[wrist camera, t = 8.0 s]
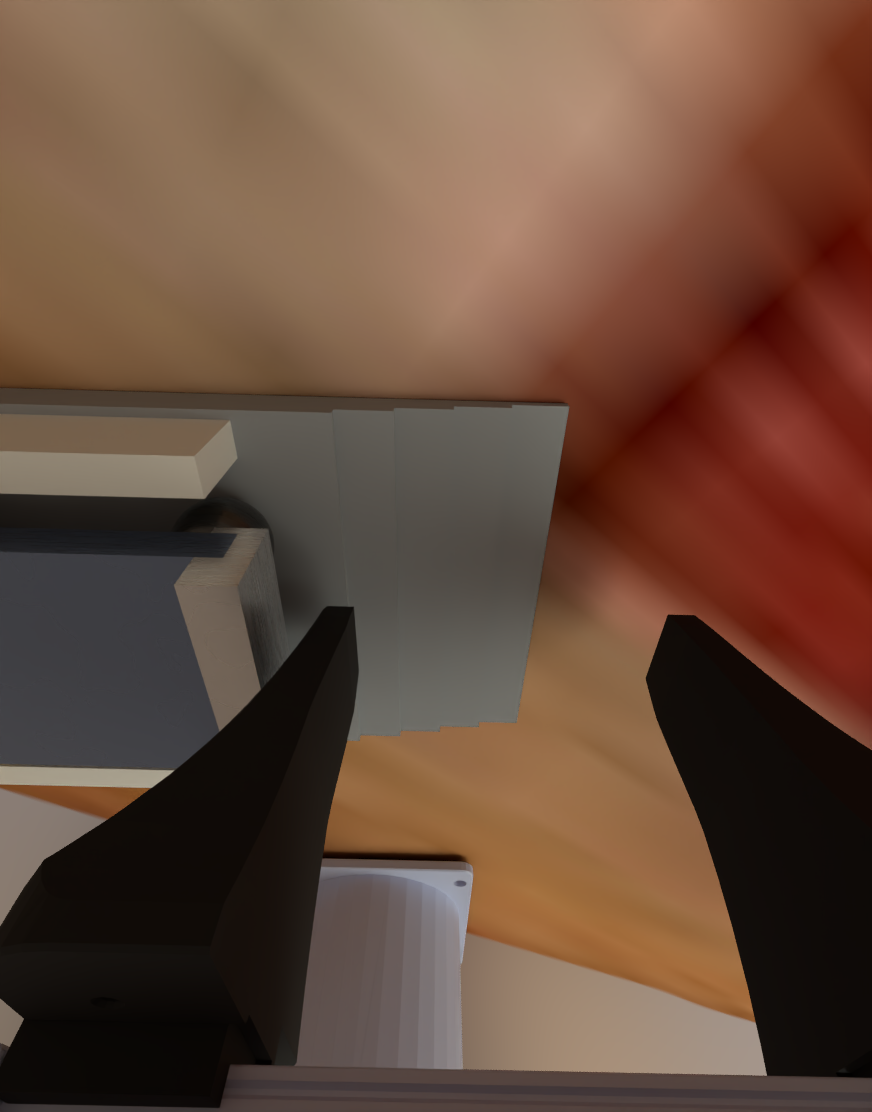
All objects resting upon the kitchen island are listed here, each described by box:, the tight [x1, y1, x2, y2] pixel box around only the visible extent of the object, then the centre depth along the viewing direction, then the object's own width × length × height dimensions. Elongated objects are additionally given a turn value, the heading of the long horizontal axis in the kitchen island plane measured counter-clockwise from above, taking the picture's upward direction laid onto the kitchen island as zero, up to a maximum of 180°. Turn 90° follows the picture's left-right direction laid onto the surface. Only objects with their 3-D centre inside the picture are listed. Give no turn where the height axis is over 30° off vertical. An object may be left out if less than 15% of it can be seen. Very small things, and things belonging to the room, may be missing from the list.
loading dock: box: [0, 388, 569, 788], centre depth 12 cm, size 10×16×4 cm, turn 89°
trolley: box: [0, 497, 290, 768], centre depth 11 cm, size 6×9×4 cm
